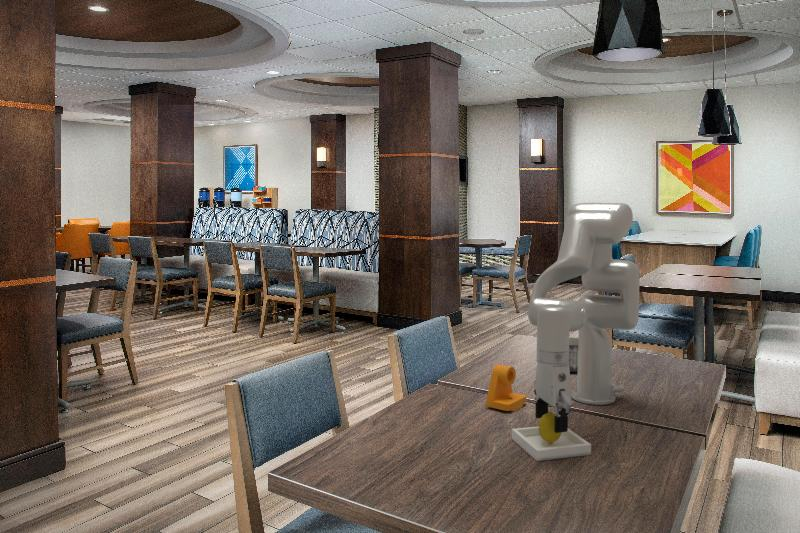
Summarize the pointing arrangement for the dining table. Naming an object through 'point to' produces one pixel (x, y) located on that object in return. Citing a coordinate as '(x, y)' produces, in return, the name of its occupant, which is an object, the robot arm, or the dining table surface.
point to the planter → (573, 354)
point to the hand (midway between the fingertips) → (551, 424)
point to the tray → (543, 450)
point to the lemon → (548, 428)
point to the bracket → (504, 390)
